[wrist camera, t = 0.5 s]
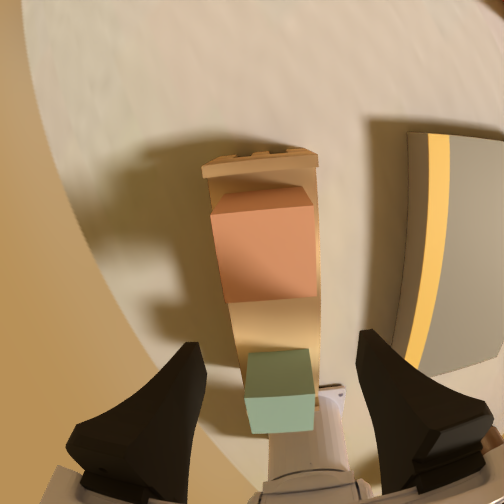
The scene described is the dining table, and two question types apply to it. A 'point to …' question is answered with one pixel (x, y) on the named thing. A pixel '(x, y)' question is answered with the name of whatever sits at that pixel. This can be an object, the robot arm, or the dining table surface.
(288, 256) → the brick block
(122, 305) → the dining table surface
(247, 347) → the tan piece
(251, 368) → the green cube
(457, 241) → the dock
